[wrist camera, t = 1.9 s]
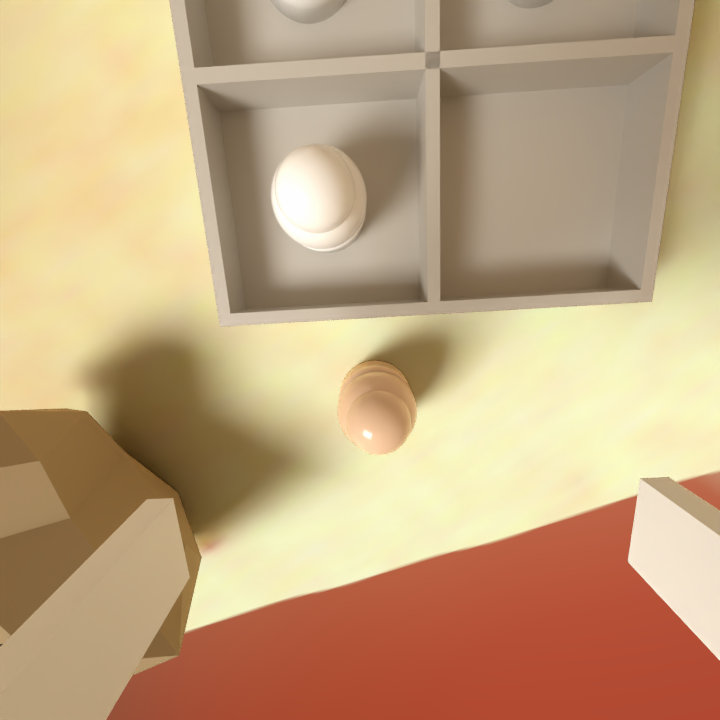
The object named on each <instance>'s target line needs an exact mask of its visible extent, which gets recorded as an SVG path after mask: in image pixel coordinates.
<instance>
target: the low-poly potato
mask: <svg viewBox="0 0 720 720" xmlns="http://www.w3.org/2000/svg"><path fill="white" fill-rule="evenodd" d="M164 498H173V500H174V504H175V509H176V514H177V519H178V524H179V528H180V533H181V538H182V543H183V547H184V552H185V557H186V562H187V566H188V571H189V576H190V578H189V579H188V581H187V583H186V585H185V586H184V588H183V590H182V591H181V593H180V595H179V596H178V598H177V600H176V602H175V603H174V605H173V607H172V608H171V610H170V612H169V613H168V615H167V617H166V619H165V620H164V622H163V624H162V625H161V627H160V629H159V630H158V632H157V634H156V635H155V637H154V639H153V641H152V642H151V644H150V646H149V647H148V649H147V651H146V652H145V654H144V656H143V658H142V659H141V661H140V663H139V664H138V666H137V668H136V669H135V671H134V673H133V675H135V674H137V673H139V672H141V671H144V670H146V669H148V668H151V667H153V666H155V665H158V664H160V663H163V662H165V661H167V660H169V659H172V658H174V657H177V656H179V653H180V649H181V645H182V640H183V636H184V632H185V627H186V623H187V619H188V614H189V610H190V605H191V601H192V597H193V592H194V588H195V583H196V579H197V575H198V570H199V566H200V562H201V555H200V552H199V549H198V546H197V544H196V541H195V538H194V535H193V533H192V530H191V527H190V524H189V522H188V519H187V516H186V513H185V510H184V508H183V505H182V502H181V499H180V497H179V494H178V492H177V491H175V490H174V489H173V488H172V487H170V486H169V485H168V484H166V483H165V482H164V481H162V480H161V479H160V478H159V477H157V476H156V475H155V474H153V473H152V472H151V471H149V470H148V469H147V468H145V467H144V466H143V465H142V464H140V463H139V462H138V461H136V460H135V459H134V458H132V457H131V456H130V455H129V454H127V453H126V452H125V451H124V450H123V449H122V448H121V447H120V446H119V445H118V444H117V443H116V442H115V441H114V440H113V439H112V438H111V436H110V435H109V434H108V433H107V432H106V431H105V430H104V429H103V428H102V427H101V426H100V425H99V424H98V423H97V422H96V421H95V420H94V419H93V417H92V416H91V415H90V414H89V413H88V412H86V411H79V410H72V409H38V410H10V411H0V644H4V643H5V642H6V641H7V640H8V639H9V638H10V637H11V636H12V634H13V633H14V632H15V631H16V630H17V629H18V628H19V627H20V626H21V625H22V624H23V623H24V622H25V621H26V620H27V619H28V618H29V617H30V616H31V615H32V614H33V613H34V612H35V611H36V610H37V609H38V608H39V607H40V606H41V605H42V604H43V603H44V602H45V601H46V600H47V599H48V598H49V597H50V596H51V595H52V594H53V593H54V592H55V591H56V590H57V589H58V588H59V587H60V586H61V585H62V584H63V583H64V582H65V581H66V580H67V579H68V578H69V577H70V576H71V575H72V574H73V573H74V572H75V571H76V570H77V569H78V568H79V567H80V566H81V565H82V564H83V563H84V562H85V561H86V560H87V559H88V558H89V557H90V556H91V555H92V554H93V553H94V552H95V551H96V550H97V549H98V548H99V547H100V546H101V545H102V544H103V543H104V542H105V541H106V540H107V539H108V538H109V537H110V536H111V535H112V534H113V533H114V532H115V531H116V530H117V529H118V528H119V527H120V526H121V525H122V524H123V523H124V522H125V521H126V520H127V519H128V518H129V517H130V516H131V515H132V514H133V513H134V512H135V511H136V510H137V509H138V508H139V507H140V506H141V505H142V504H143V503H144V502H145V501H146V500H147V499H164Z"/></svg>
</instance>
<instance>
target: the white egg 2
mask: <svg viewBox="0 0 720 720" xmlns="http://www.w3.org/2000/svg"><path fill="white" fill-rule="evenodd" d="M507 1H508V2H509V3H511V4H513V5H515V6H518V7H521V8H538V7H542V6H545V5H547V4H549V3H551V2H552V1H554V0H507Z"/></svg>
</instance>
